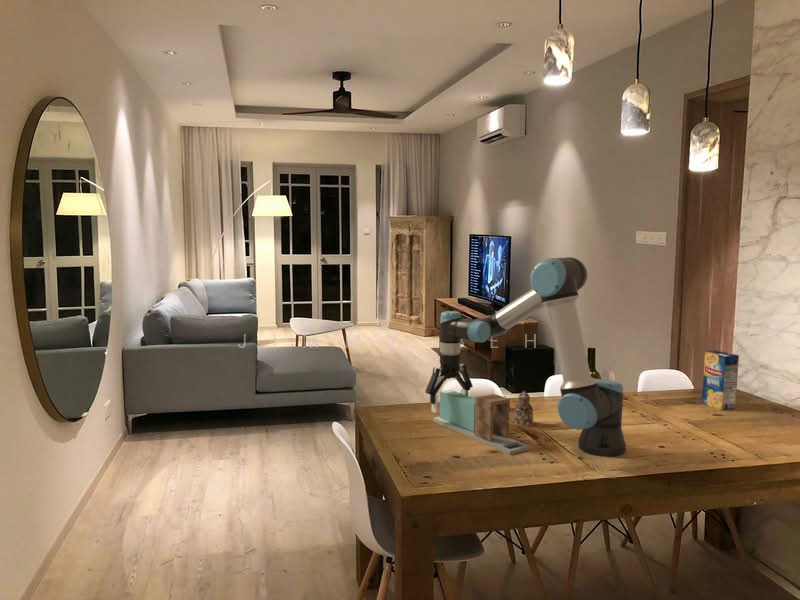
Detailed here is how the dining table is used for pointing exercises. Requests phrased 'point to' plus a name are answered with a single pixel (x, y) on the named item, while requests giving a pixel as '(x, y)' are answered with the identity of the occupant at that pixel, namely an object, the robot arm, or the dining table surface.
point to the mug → (479, 392)
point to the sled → (458, 409)
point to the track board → (498, 442)
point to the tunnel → (491, 416)
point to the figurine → (523, 411)
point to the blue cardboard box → (720, 379)
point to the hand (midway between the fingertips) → (449, 409)
